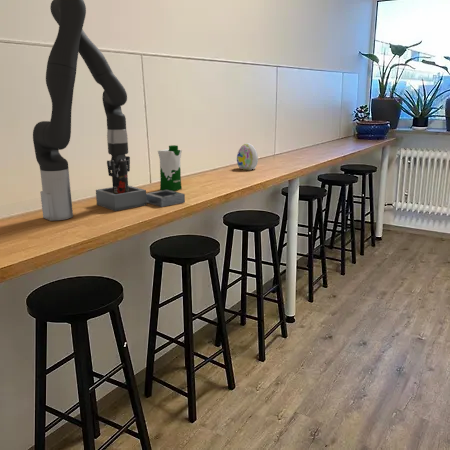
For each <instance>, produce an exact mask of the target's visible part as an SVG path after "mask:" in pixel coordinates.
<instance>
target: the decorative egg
mask: <svg viewBox="0 0 450 450" xmlns="http://www.w3.org/2000/svg"><path fill="white" fill-rule="evenodd" d="M258 162H259V155H258V152H257V149H256V148H255V146H254V145H253V144H251V143H249V142H246V143H244V144H242V145H241V147H240V148H239V149H238V152H237V155H236V163H237V166H238V168H239V169H240V170H241V169H243V170H242V171H253V170H255V169H256V167H257V166H258ZM252 169H253V170H252Z"/></svg>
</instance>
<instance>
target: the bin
mask: <svg viewBox="0 0 450 450" xmlns="http://www.w3.org/2000/svg"><path fill="white" fill-rule="evenodd" d="M128 190H129V192H126V193H120V194H113V186H111V187H106V188H99V189H95V197H96V199H95V200H96V205H97V206H99V207H103V208H105V209H108V210H112V211H113V212H118V211H123V210H128V209H133V208H138V207H139V208H140V207H144V206H147V204H148V203H147V200H146V193H147V190H146V189H144V188H139V187H135V186H133V185H128Z"/></svg>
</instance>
